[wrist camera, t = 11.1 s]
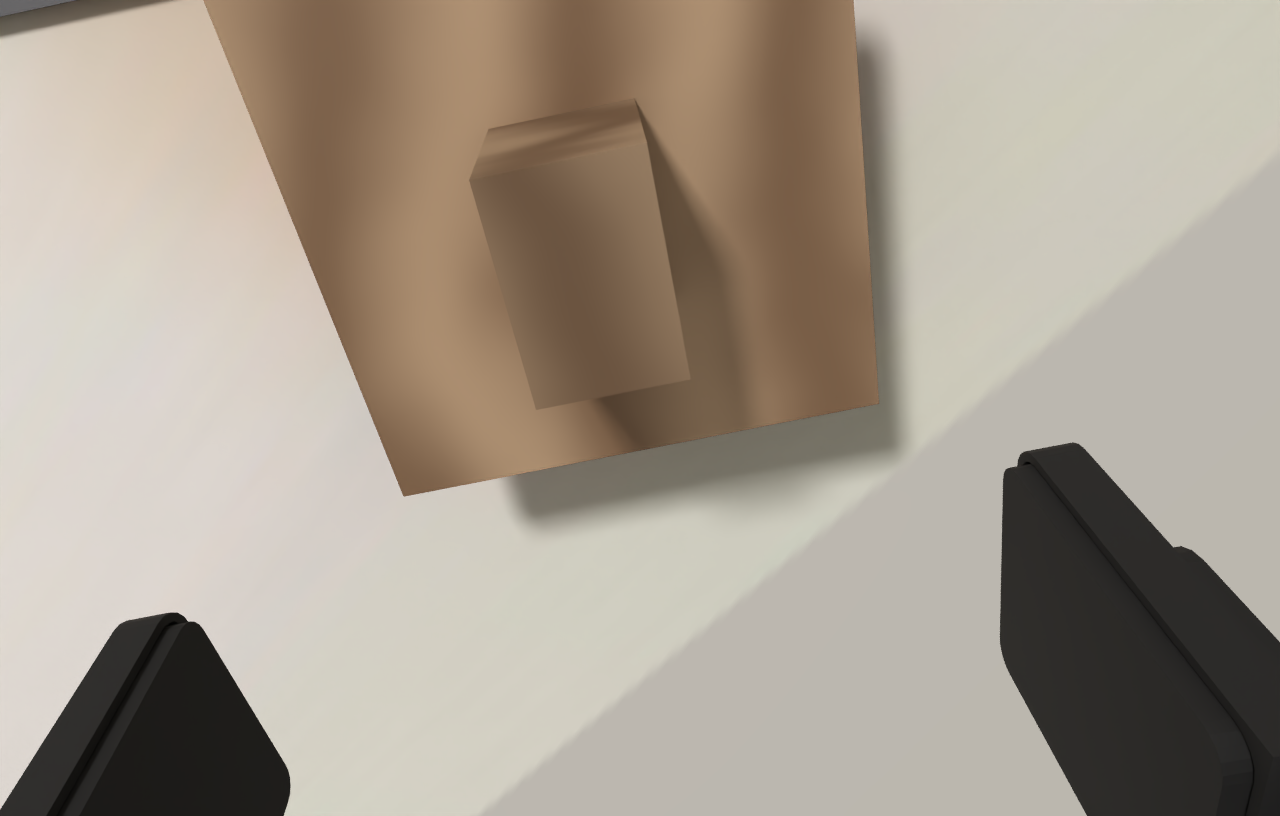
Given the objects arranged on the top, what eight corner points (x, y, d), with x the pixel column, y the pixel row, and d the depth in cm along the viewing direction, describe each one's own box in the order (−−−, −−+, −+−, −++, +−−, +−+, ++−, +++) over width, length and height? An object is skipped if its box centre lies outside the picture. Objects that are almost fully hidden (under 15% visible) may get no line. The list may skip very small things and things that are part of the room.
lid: (834, -169, 22) (911, -189, 17) (871, 391, 30) (931, 492, 25) (204, -29, 22) (96, -7, 17) (407, 482, 30) (374, 598, 25)
